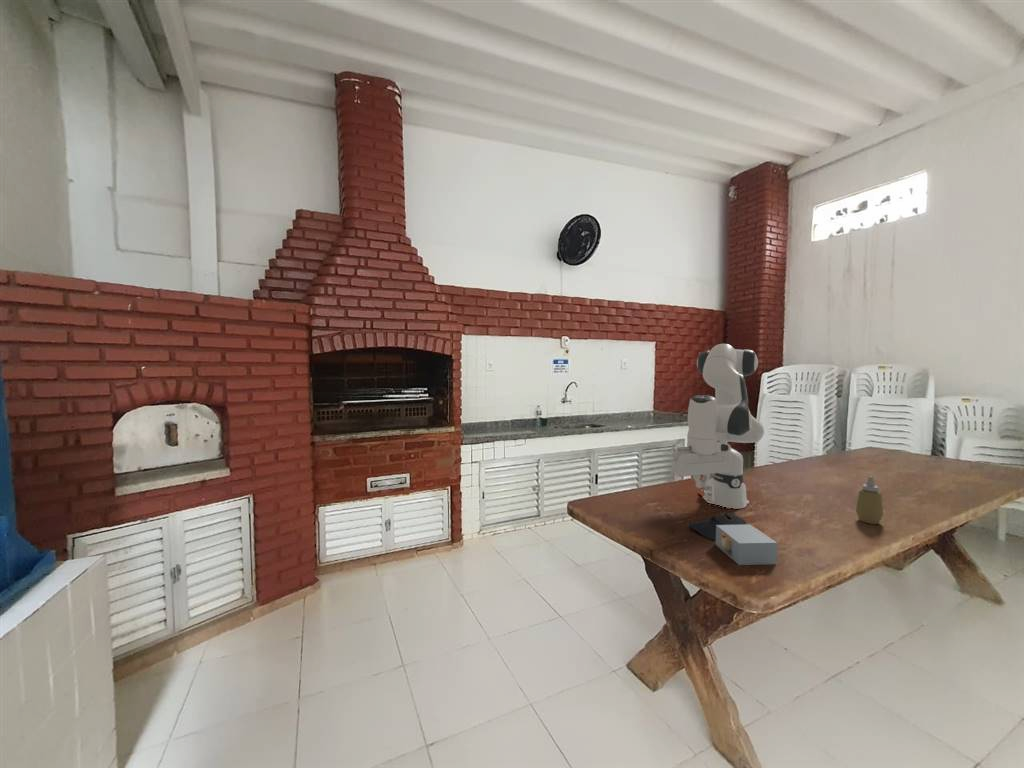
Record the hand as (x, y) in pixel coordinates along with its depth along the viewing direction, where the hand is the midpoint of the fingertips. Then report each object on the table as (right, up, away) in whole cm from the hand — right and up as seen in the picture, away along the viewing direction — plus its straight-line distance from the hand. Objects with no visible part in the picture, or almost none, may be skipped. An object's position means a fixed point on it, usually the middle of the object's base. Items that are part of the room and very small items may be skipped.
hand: (701, 487), depth 133 cm
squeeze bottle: (+79, -21, +27) cm, 86 cm away
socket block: (+15, -23, +2) cm, 27 cm away
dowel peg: (+14, -21, +2) cm, 26 cm away
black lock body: (+17, -22, +21) cm, 35 cm away
